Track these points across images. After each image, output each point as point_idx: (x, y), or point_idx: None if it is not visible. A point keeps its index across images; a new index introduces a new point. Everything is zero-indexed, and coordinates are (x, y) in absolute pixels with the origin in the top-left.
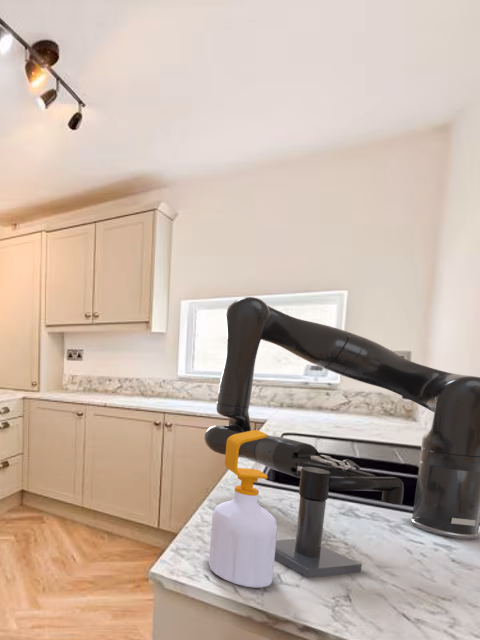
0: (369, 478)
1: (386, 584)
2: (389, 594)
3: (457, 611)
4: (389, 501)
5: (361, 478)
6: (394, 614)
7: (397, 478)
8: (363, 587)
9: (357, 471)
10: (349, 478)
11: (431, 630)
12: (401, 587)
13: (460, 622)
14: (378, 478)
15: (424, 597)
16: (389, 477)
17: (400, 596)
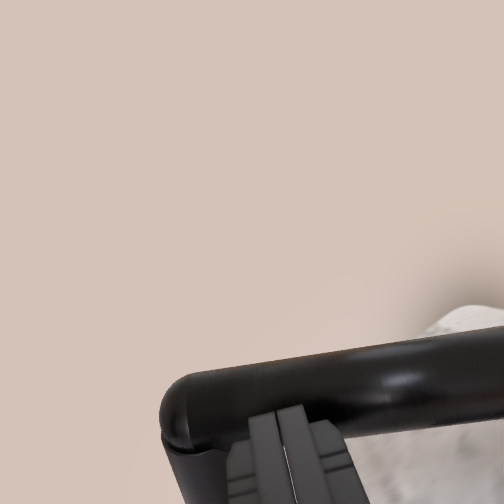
0: (357, 349)
1: (413, 500)
2: (439, 456)
3: None
4: None
5: (410, 340)
6: None
7: (186, 376)
8: (494, 477)
9: (306, 477)
10: (488, 330)
11: None
12: (381, 490)
13: None
14: (302, 356)
15: (358, 455)
16: (219, 376)
17: (416, 451)
